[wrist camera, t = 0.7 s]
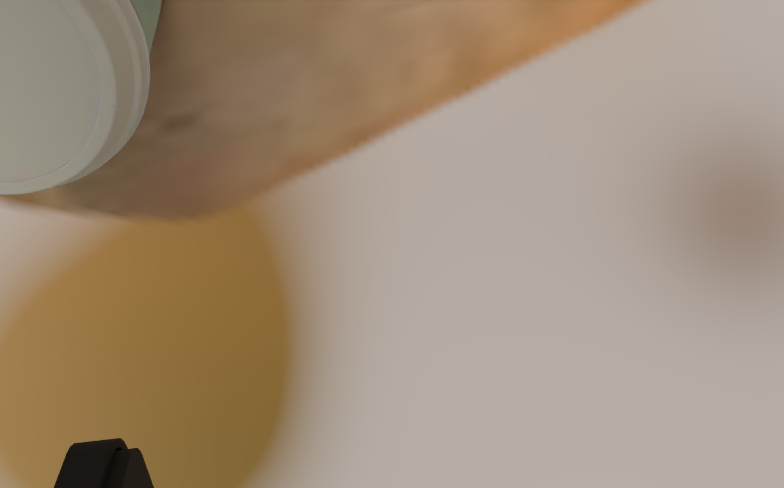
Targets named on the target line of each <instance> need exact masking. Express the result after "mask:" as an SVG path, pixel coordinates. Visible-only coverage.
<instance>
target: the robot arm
mask: <svg viewBox="0 0 784 488" xmlns="http://www.w3.org/2000/svg"><path fill="white" fill-rule="evenodd" d="M54 488H154V487H153V484H152V481H151V478H150V476H149V473H148V470H147V468H146V464H145V461H144V459H143V456H142V453H141V451H140V450H139V449H138V448H133V449H128V448H127V446H126V444H125V442H124V441H123V440H122V439H120V438H119V439H118V438H117V439H108V440H100V441H92V442H82V443H74V444H73V445H72V446H71V447H70V448H69V450H68V452H67V454H66V457H65V460H64V462H63V465H62V467H61V470H60V473H59V475H58V478H57V481H56V484H55V486H54Z"/></svg>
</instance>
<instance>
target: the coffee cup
mask: <svg viewBox="0 0 784 488" xmlns="http://www.w3.org/2000/svg"><path fill="white" fill-rule="evenodd" d="M161 6H162V0H0V195H19V194H27V193H34V192H38V191H42V190H46V189H49V188H52V187H57V186H61V185H64V184H68V183H71V182H73V181H76V180H78V179H81V178H83V177H85V176H87V175H88V174H90V173H92V172H93V171H95V170H97V169H98V168H99V167H101V166H102V165H103V164H105V163H106V162H107V161H109V160H110V159H111V158H112V157H114V156H115V155H116V154H117V153H118V152H119V151H120V150H121V149H122V148H123V147H124V146H125V145H126V143H127V142H128V141H129V140H130V138H131V137H132V135H133V134H134V132H135V131H136V129H137V127H138V125H139V123H140V121H141V119H142V116H143V114H144V111H145V108H146V104H147V100H148V95H149V88H150V61H149V55H150V51H151V47H152V43H153V39H154V35H155V31H156V27H157V23H158V19H159V15H160V10H161Z"/></svg>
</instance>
